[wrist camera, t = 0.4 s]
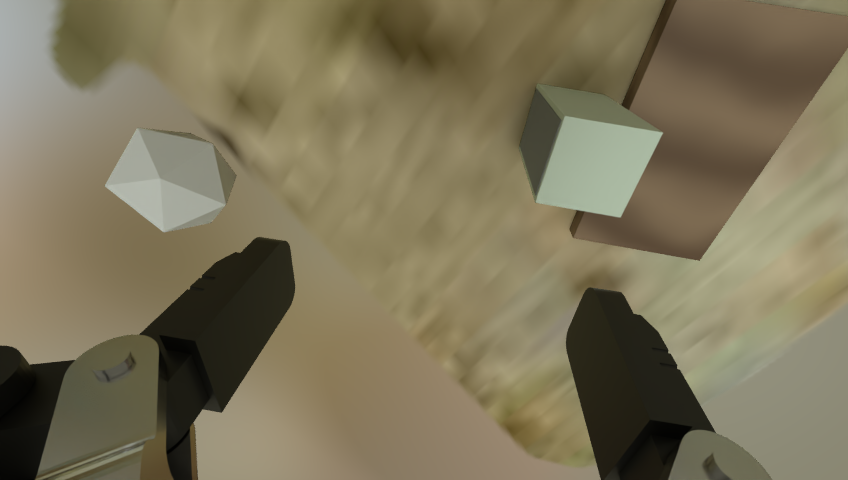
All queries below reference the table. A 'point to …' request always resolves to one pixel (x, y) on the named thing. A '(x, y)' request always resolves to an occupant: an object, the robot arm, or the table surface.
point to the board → (715, 115)
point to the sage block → (584, 150)
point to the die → (172, 178)
